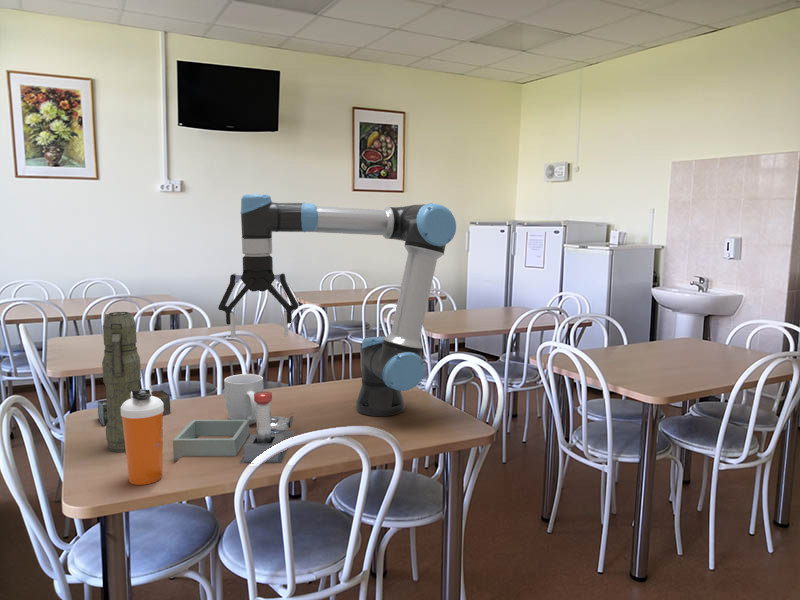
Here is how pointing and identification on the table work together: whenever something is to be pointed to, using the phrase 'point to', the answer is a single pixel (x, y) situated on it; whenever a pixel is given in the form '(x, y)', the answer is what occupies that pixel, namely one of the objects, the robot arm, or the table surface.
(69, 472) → the table surface
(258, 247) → the robot arm
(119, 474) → the table surface
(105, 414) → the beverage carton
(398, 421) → the table surface
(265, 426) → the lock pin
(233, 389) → the mug
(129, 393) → the thermos
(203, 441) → the rectangular frame
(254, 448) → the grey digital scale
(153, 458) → the shaker bottle
